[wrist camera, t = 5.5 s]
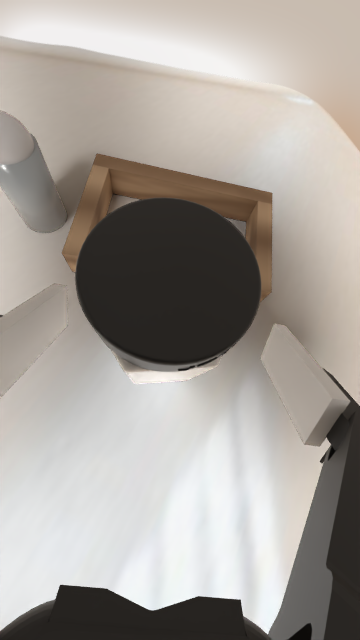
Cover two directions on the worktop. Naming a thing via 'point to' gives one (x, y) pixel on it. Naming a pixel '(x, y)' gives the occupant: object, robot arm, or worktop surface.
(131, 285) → the jar
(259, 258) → the dock
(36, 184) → the shaker
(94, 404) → the worktop surface
